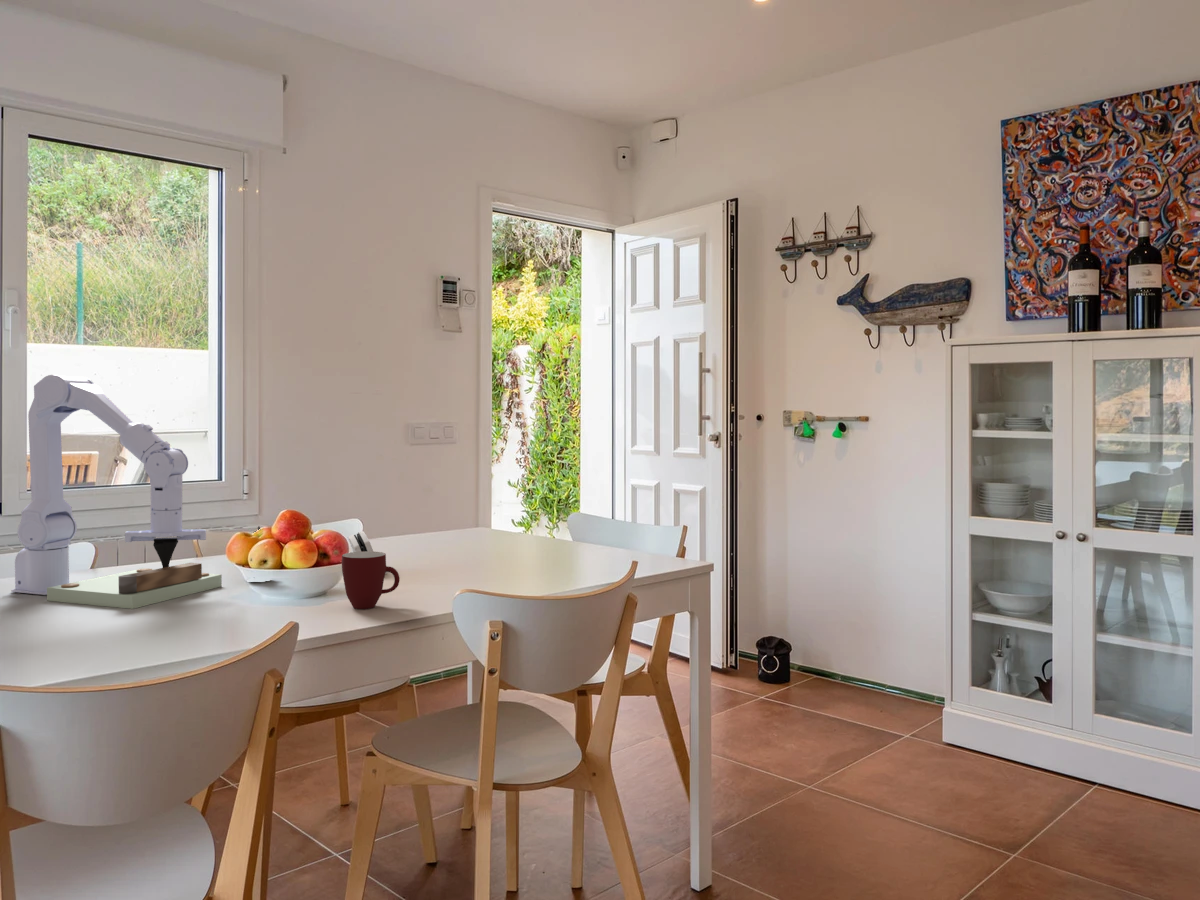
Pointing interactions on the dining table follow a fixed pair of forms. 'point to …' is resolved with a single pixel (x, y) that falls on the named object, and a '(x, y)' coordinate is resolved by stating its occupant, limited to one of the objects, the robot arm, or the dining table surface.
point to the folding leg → (159, 577)
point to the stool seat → (107, 593)
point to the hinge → (360, 543)
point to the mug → (366, 577)
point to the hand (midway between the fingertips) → (166, 576)
